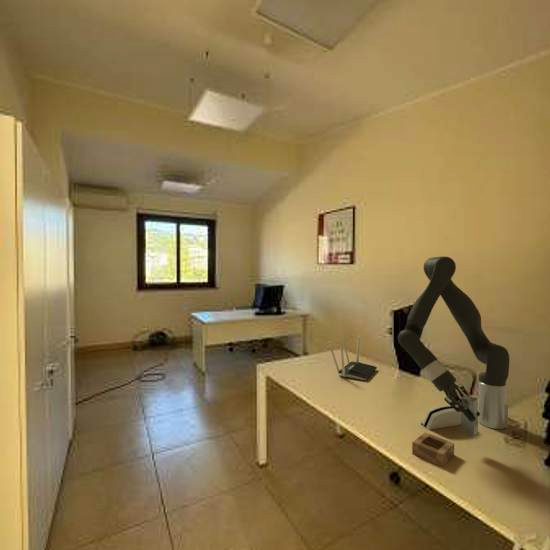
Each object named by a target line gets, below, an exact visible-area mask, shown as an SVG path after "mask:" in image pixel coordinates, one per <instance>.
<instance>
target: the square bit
mask: <svg viewBox="0 0 550 550" xmlns="http://www.w3.org/2000/svg"><path fill="white" fill-rule="evenodd" d="M461 399H462V400H463V403H464V404H465V405H466V407H467V409H469V410H470V412H471V413H472V414H473V415H474V416H475V417H476V419H475V420H474V421H472V422H470V421H469V419H468V418H467V417H466V416H465V415H464V413H463V412H461V425H460V426H461V428H460V429H461V430H460V432H461V433H464V434H467V435H468V436H473V437H475V436H476V434H478V432H479V421H478V411H479V397H475V396H472V395H470V396H468V395H464V396H463V397H462V398H461Z"/></svg>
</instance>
